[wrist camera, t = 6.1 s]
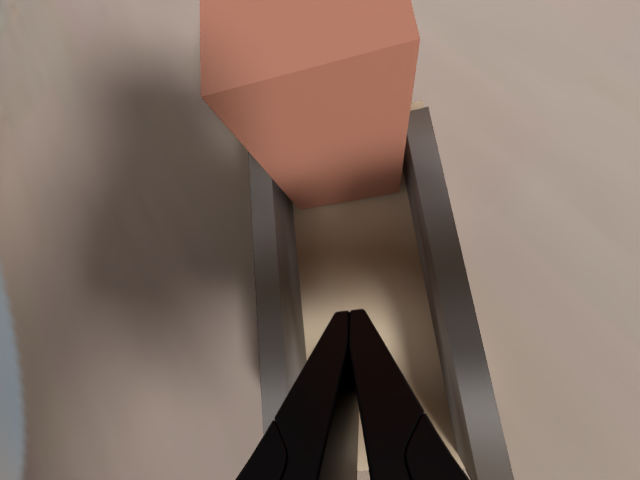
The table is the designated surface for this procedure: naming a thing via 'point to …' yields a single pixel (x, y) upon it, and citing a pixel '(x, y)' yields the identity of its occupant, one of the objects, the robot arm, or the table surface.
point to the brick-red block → (314, 90)
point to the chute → (380, 296)
